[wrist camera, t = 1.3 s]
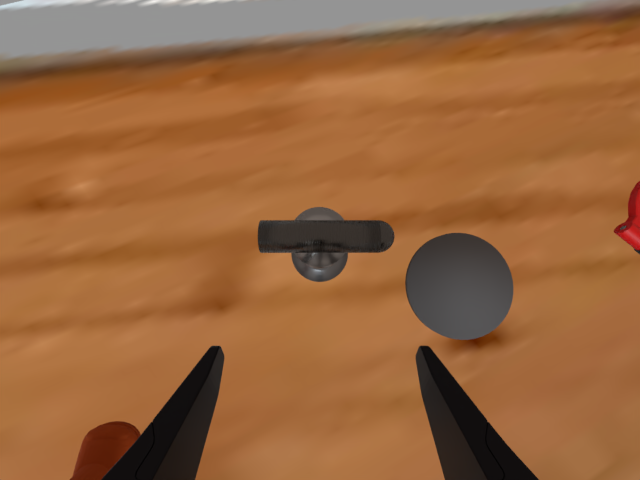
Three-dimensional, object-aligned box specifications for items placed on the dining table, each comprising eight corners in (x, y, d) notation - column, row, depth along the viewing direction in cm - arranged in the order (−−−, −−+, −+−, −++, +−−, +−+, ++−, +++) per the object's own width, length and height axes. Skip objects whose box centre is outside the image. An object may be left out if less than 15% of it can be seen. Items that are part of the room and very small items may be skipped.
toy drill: (142, 282, 23) (-170, 362, 8) (149, 510, 24) (-147, 986, 9) (82, 284, 23) (-337, 366, 8) (90, 511, 24) (-311, 991, 9)
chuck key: (356, 281, 25) (400, 289, 11) (291, 281, 25) (256, 289, 11) (355, 231, 25) (396, 181, 12) (291, 231, 25) (258, 181, 12)
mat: (530, 287, 25) (535, 287, 24) (458, 361, 24) (462, 363, 24) (455, 213, 26) (458, 211, 25) (383, 282, 25) (385, 282, 24)
